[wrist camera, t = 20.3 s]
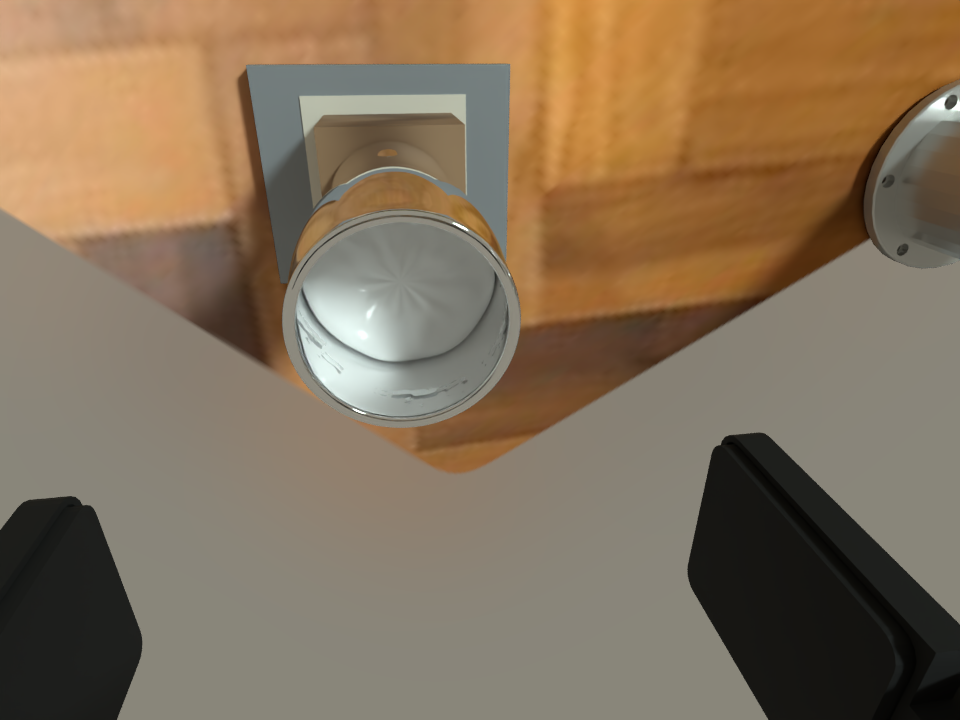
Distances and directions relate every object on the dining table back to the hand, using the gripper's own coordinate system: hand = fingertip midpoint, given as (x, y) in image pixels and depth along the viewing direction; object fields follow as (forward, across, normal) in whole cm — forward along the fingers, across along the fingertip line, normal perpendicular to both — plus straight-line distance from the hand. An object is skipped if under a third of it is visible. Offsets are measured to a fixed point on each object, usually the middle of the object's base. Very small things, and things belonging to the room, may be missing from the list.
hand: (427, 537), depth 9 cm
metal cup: (+23, 0, 0) cm, 23 cm away
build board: (+30, 0, 0) cm, 30 cm away
